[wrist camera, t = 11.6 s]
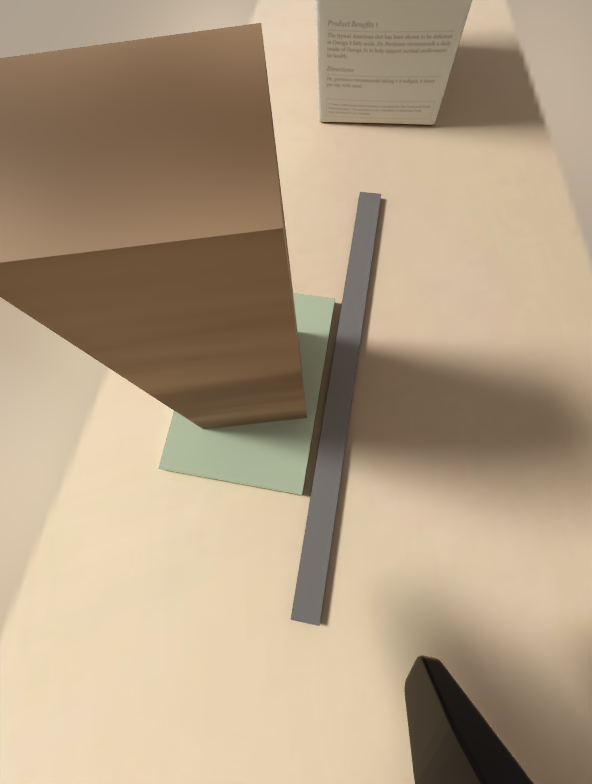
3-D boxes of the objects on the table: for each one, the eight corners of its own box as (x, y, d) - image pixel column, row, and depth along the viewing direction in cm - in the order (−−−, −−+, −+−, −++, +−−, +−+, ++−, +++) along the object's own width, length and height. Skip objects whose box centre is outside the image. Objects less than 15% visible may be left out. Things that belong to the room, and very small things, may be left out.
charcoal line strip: (319, 623, 16) (319, 625, 16) (291, 617, 16) (290, 619, 16) (380, 197, 22) (381, 194, 22) (359, 196, 22) (360, 191, 22)
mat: (302, 495, 18) (302, 494, 17) (161, 469, 18) (158, 468, 18) (334, 302, 20) (334, 298, 20) (211, 286, 21) (208, 282, 21)
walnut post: (306, 417, 18) (282, 228, 6) (202, 429, 18) (-45, 267, 6) (297, 331, 19) (260, 22, 7) (200, 342, 20) (-7, 59, 7)
